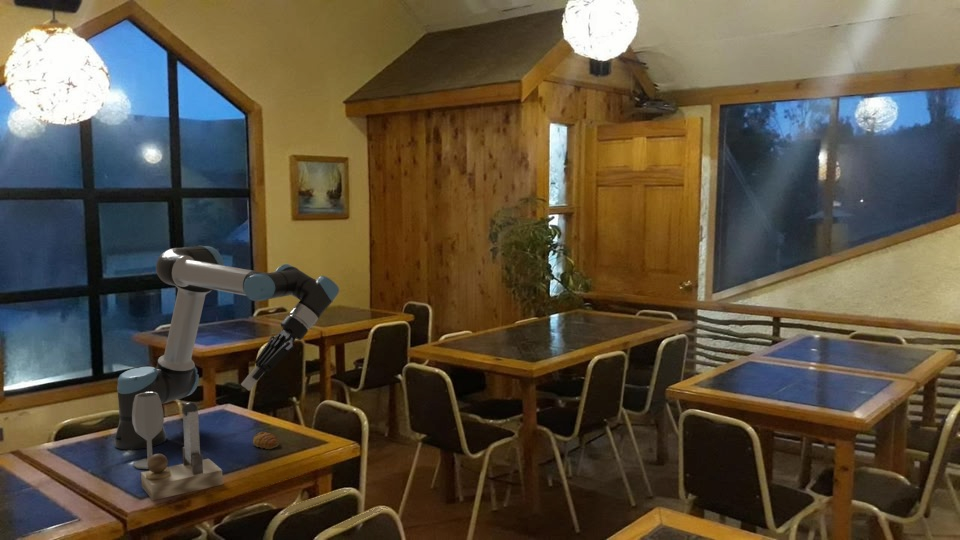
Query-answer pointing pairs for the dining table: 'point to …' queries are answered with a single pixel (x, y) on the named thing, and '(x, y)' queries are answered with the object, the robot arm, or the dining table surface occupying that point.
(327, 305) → the robot arm
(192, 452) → the lever
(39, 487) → the dining table surface
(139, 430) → the wineglass
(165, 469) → the nutcracker base
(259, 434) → the pastry
